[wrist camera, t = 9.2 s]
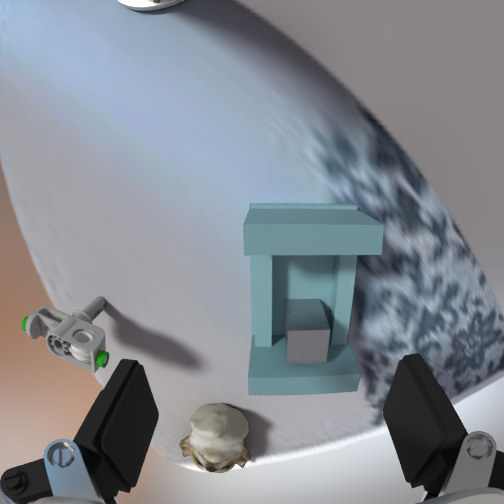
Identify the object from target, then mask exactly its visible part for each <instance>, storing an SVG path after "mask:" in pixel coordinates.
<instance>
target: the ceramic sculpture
mask: <svg viewBox="0 0 504 504" xmlns="http://www.w3.org/2000/svg"><path fill="white" fill-rule="evenodd" d="M190 423H191V426H192V432H191V434H190V436H188V437H186V438H184V439H183V440H182V441H181V442H180V444H179V446H180V447H181V449H182V451H183V457H185V456H189V455H191V456H192V460H193V462H194V463H195V465H197V466H198V467H199V468H200V469H202V470H205V471H209V472H215V473H223V472H226V471H229V470H230V469H232V468H233V466H234V465H235V464H238V465H239V466H240V467H242V468H243V467H244V466H245V463H246V462H247V461H249V460H250V459H251V455H250V452H249V451H248V450H247V448H246V447H245V446H244V443H243V442H244V437H246V435H247V434H248V432H249V426H248V422H247V420H246V418H245V416H244V415H243V414H242V412H240V411H239V410H237V409H234V408H232V407H230V406H228V405H226V404H208V405H204V406H202V407H200V408H199V409H198V410H197V411H196V412H195V413H194V414H193V416H192V417H191V419H190Z"/></svg>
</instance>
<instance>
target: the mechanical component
mask: <svg viewBox="0 0 504 504" xmlns="http://www.w3.org/2000/svg"><path fill="white" fill-rule="evenodd" d="M105 303H106V300H105V299H104V298H103V297H97V298H96V299H95V300H94V301H93V302H92V303H91V304H90V305H89V306H87V307H86V308H85V309H84V310H83V311H82V310H77V311H75V312H74V313H73V315H72V316H70V315H68V314H66V313H63V312H61V311H59V310H56V309H54V308H52V307H41V308H39V309H37V310H36V311H35V312H34V313H32V314H31V315H30V316H29V317H25V318H24V319H23V322H22V329H23V330H24V331H26V333H27V335H28V336H29V337H31V338H33V339H36V338H38V337H39V336H40V335H41V336H43V337H45V338H46V341H47V346H48V348H49V350H50V351H51V352H52V353H53V354H54V355H55V356H56V357H58V358H60V359H64V360H66V361H68V362H70V363H73V364H75V365H77V366H79V367H82V368H84V369H86V370H88V371H91V372H93V373H95V372H96V371H97V370H98V368H99V367H100V366H101V367H103V368H105V367H106V365H107V363H108V360H109V353H108V352H106V351H105V331H104V330H103V329H102V328H100V327H98V326H95V325H93V324H92V321H93V320H94V319H95V318H96V317H97V316H98V315H99V314H100V313H101V312H102V311H103V310H104V309H105V308H106V307H105V306H104V304H105ZM47 329H50V330H47ZM77 359H78V360H77ZM79 360H82V361H88V362H82V361H79ZM89 360H91V361H89Z"/></svg>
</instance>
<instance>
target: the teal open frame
mask: <svg viewBox="0 0 504 504" xmlns="http://www.w3.org/2000/svg"><path fill="white" fill-rule="evenodd" d="M249 206H250V209H249V211H248V214H247V217H246V219H245V222H244V224H243V226H244V255H251V299H252V343H251V353H250V364H249V374H248V387H249V395H306V394H326V393H340V392H352V391H357V389H358V385H359V381H360V377H361V371H360V369H359V366H358V364H357V361H356V358H355V356H354V353H353V351H352V348H351V346H350V343H349V341H348V338H347V336H348V330H349V323H350V316H351V308H352V300H353V292H354V283H355V274H356V263H357V255H381V254H382V244H383V232H384V225H383V224H381V223H379V222H378V221H376V220H374V219H373V218H371V217H369V216H368V215H366V214H364V213H362V212H361V211H359V210H357V206H356V205H354V204H300V203H264V204H250V205H249ZM285 299H320V301H321V304H322V307H323V310H324V312H325V315H326V318H327V321H328V324H329V327H330V337H329V345H328V352H327V359H326V363H310V364H287V362H286V349H285V336H284V314H285Z"/></svg>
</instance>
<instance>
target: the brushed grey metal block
mask: <svg viewBox="0 0 504 504" xmlns="http://www.w3.org/2000/svg"><path fill="white" fill-rule="evenodd" d="M284 336H285V349H286V362H287V364H310V363H326V359H327V352H328V345H329V337H330V327H329V324H328V321H327V318H326V315H325V312H324V310H323V307H322V304H321V301H320V299H285V314H284Z"/></svg>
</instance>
